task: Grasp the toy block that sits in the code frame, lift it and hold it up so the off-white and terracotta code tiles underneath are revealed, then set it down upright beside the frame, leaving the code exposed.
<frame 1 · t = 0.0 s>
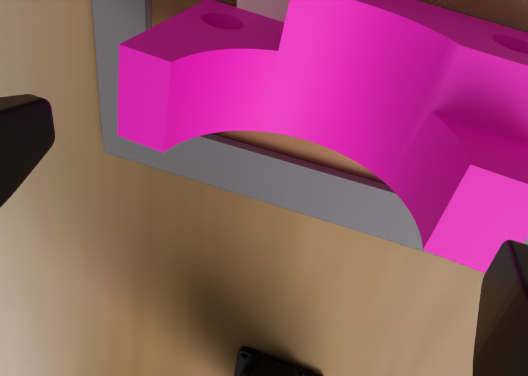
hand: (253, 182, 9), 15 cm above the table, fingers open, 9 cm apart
toy block: (357, 58, 22), resting in code frame
code frame: (357, 59, 22), on the table
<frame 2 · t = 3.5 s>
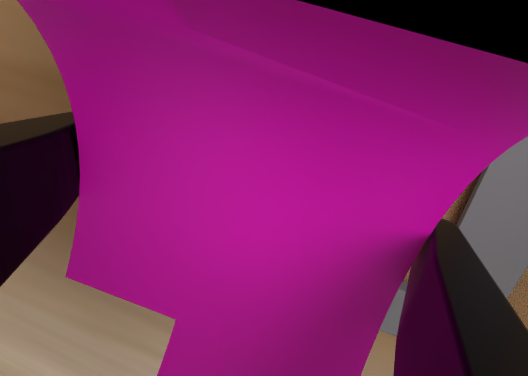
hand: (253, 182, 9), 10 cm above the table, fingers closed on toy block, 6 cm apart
toy block: (282, 127, 11), point 8 cm above the table, touching gripper
code frame: (353, 33, 17), on the table
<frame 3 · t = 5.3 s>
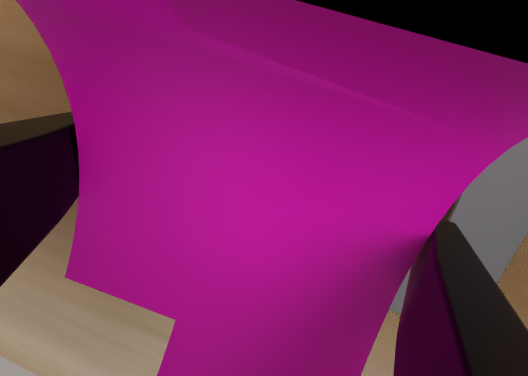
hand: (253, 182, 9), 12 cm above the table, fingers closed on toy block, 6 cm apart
toy block: (282, 127, 11), point 10 cm above the table, touching gripper
code frame: (357, 21, 19), on the table
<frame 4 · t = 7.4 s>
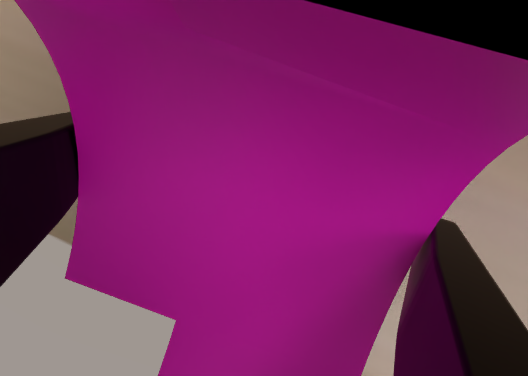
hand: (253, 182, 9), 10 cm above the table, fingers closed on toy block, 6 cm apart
toy block: (281, 127, 11), point 8 cm above the table, touching gripper
when the fingers open (3 cm above the table, at t = 8.9 s): toy block drops 2 cm, on the table.
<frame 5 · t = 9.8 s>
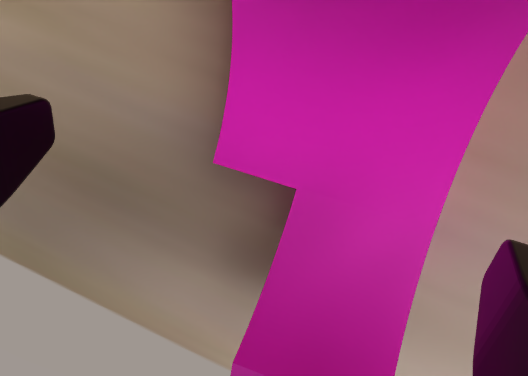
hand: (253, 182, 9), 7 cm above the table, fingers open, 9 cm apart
toy block: (367, 53, 14), on the table
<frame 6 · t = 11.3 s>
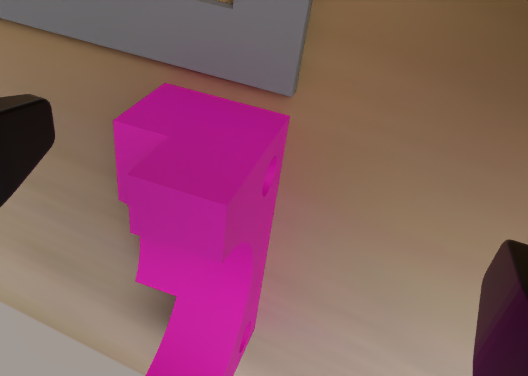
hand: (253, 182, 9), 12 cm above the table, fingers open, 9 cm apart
toy block: (218, 218, 27), on the table
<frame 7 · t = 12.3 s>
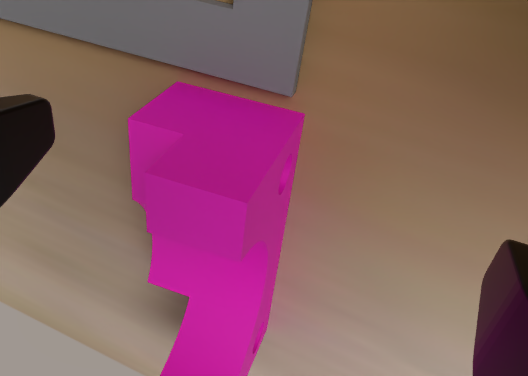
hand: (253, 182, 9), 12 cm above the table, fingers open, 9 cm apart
toy block: (231, 218, 27), on the table
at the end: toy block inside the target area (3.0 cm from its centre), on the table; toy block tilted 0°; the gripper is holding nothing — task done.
